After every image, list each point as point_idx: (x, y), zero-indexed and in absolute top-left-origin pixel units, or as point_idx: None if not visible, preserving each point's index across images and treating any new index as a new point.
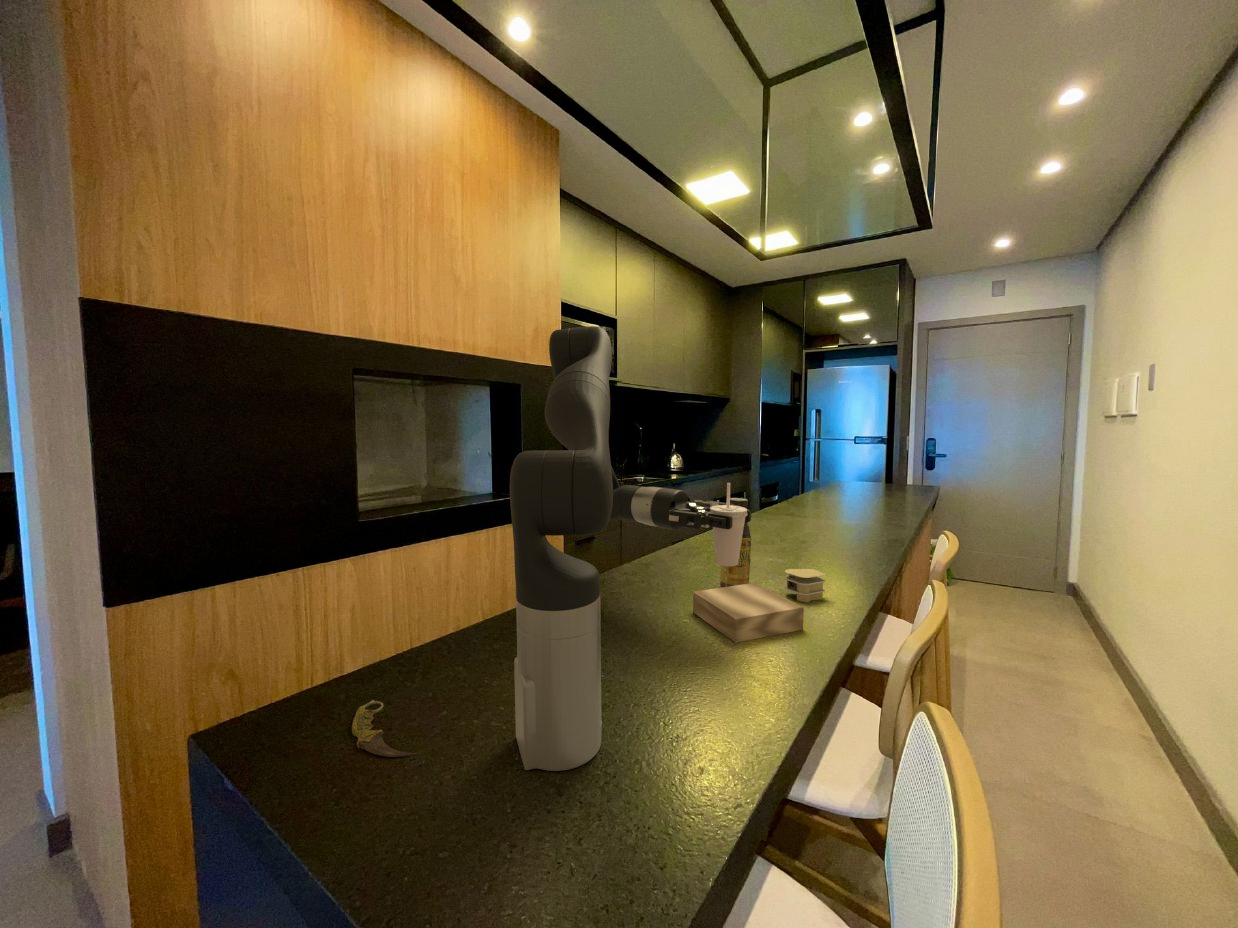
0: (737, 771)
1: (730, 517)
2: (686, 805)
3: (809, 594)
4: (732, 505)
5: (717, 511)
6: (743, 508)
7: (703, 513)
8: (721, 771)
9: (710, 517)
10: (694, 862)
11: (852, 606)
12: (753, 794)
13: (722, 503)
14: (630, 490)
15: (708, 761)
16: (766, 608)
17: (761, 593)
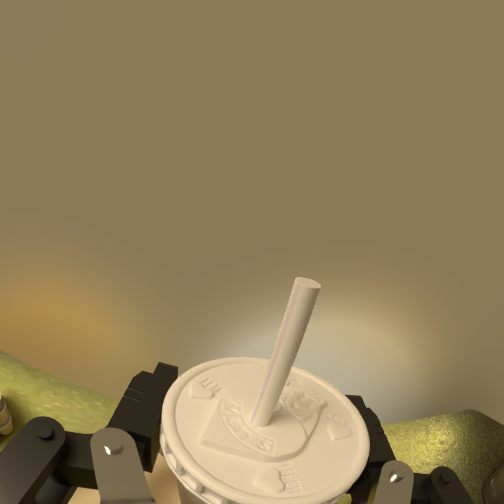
0: (425, 431)
1: (353, 395)
2: (458, 433)
3: (9, 412)
4: (167, 414)
5: (366, 435)
6: (208, 370)
7: (412, 480)
8: (432, 436)
9: (393, 458)
10: (465, 416)
11: (25, 375)
12: (427, 419)
13: (22, 474)
14: None
15: (435, 444)
16: (167, 482)
17: (81, 489)
